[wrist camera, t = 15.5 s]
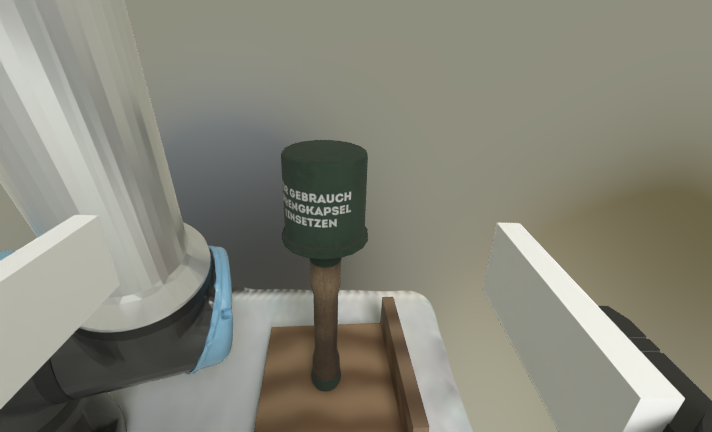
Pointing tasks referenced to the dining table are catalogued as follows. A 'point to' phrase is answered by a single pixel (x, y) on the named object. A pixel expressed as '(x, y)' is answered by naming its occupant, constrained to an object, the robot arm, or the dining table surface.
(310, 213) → the stick grenade
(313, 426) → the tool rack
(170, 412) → the dining table surface
